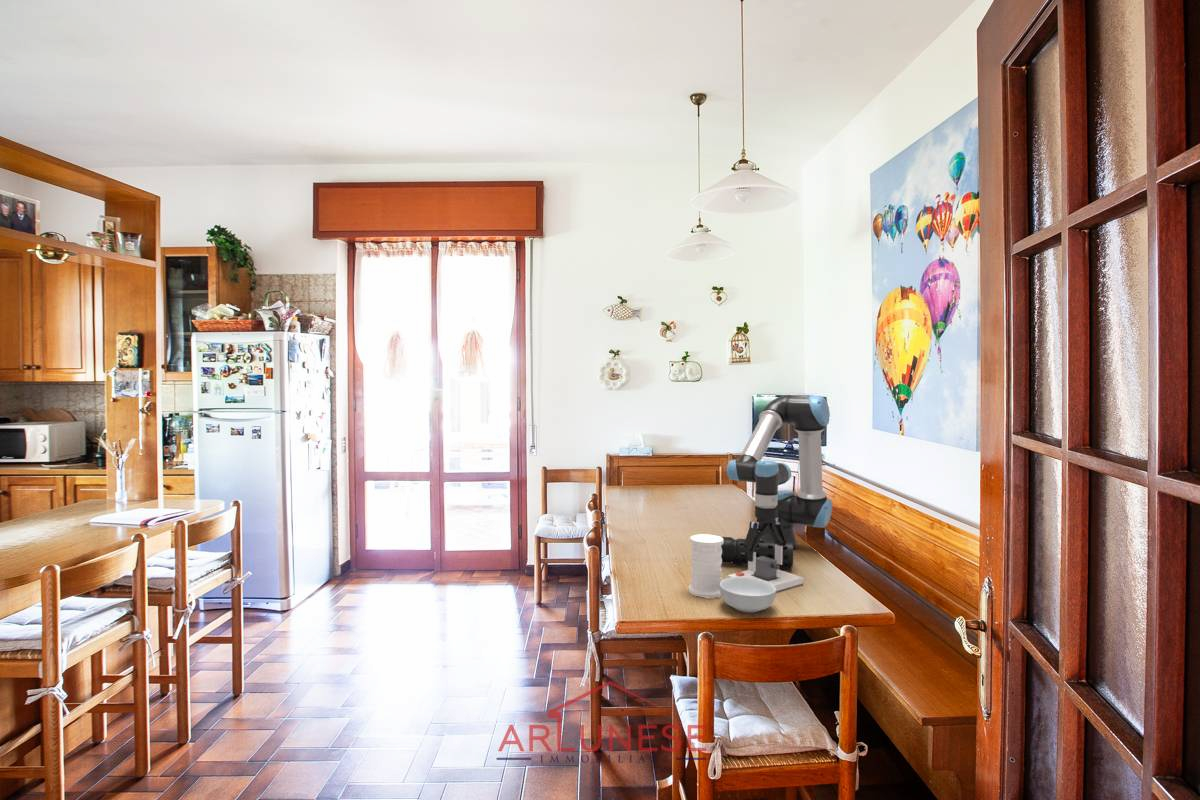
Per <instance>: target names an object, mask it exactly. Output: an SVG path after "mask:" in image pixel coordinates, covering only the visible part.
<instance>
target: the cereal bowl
mask: <svg viewBox="0 0 1200 800" xmlns="http://www.w3.org/2000/svg"><path fill="white" fill-rule="evenodd" d="M720 594H721V597H720V598H721V599H722V600H723V602H725V603H726V604H727V605H728V606H730V607H731V608H734V609H735V610H737V611H739V612H742V613H747V614H748V613H750V614H751V613H758V612H760V611H763V610H766V609H768V608H770V607H771V606H772V605H773V604H774V602H775V599H776V594H777V593H776V588H775V586H774V585H772V584H771V583H769V582H766V581H764V580H760V579H756V578H750V577H731V578H728V577H726V578H725V579H722V581H721V582H720Z"/></svg>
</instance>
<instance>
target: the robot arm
mask: <svg viewBox="0 0 1200 800" xmlns="http://www.w3.org/2000/svg"><path fill="white" fill-rule="evenodd" d="M830 416H831V415H830V407H829V404H828V402H827V400H826V398H825V397H823V396H820V395H814V394H811V395H808V394H807V395H805V394H802V395H800V394H797V395H796V394H795V395H791V394H785V395H780V396H778V397H776V398H774V399H773V400H771V401H770V402H769V403H768V404H767V405H765V406H764V407H763V408H762V410H761V412H760V414H759V415H758V423H757V424H756V425H755V428H754V430H753V431H752V433H751V435H750V437H749V439H748V440H747V443H746V444H745V447H744V448H743V450H742V452H741V453H740V455H739V457H738V459H731V460H729V461H728V462H727V465H726V475H727V478H728V479H729V480H732V481H736V482H737V481H738V482H746V483H755V484H754V486H755V489H754V491H755V492H754V505H755V507H754V517H755V518H756V522H755V521H750V522H749V528H748V530H747V534H746V537H745V538H744V539H745V542H744V545H743V550H746V551H747V560H748V564H747V570H750V571H753V572H755V571H756V552H754V550H755V549H757V548H756V547H757V545H758V543H759V541H760V540H768V541H776V543H777V544H778V545H777V544H776V545H775V560H777V564H779V565H782V554H783V546H786V543H787V542H792V543H793V549H794V550H796V549H798V540H797V538H796V533H795V530H794V524H795V525H800V526H801V525H802V526H806V527H813V528H826V526H828V524H829V522H830V519H831V516H832V511H833V501H832V499H830V498H828V496H827V495H828V494H827V492H826V491H825V490H823V465H822V464H823V463H822V462H823V460H822V459H823V458H822V433H823V432H824V430H825V428H826V426H828V425H829V423H830ZM785 424H788V425H793V430H794V431H795V432H796V433H797V434H798V460H799V462H798V463H799V464H798V465H799V485H800V487H799V488H800V489H799V490H798V491H797V492H796V495H795V492H794V491H792V490H779V486H781V485H785V484H786V483H788V481H790V479H791V477H792V471H791V468H790V466H789V465H787V464H786V463H784V462H777V461H774V460H762V459H763V457H764V456H765V454H766V451H767V450H768V447H769V445H770V443H771V441H772V440H773V437H774V436H775V433H776V431H777V430H779V429H780V428H782V426H783V425H785ZM751 547H752V548H751ZM795 548H796V549H795Z"/></svg>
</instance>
